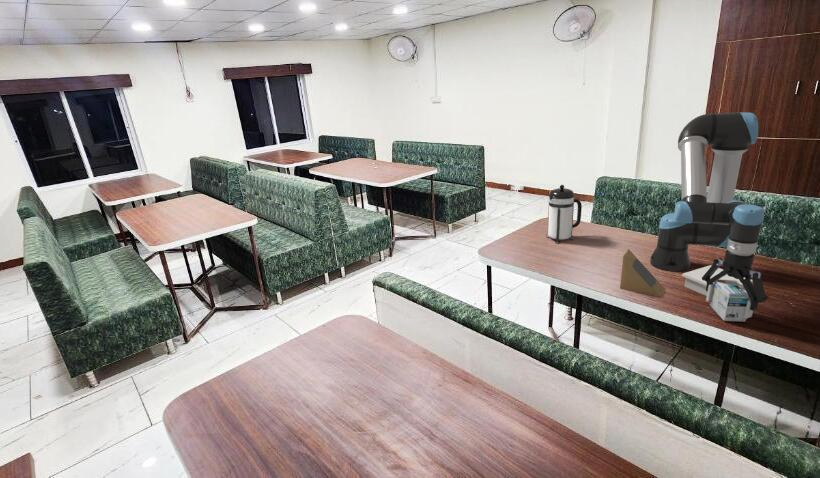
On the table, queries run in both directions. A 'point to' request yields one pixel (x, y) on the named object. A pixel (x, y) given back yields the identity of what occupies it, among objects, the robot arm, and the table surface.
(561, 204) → the coffee press
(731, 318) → the light bulb box
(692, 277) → the podium
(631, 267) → the sandwich container
